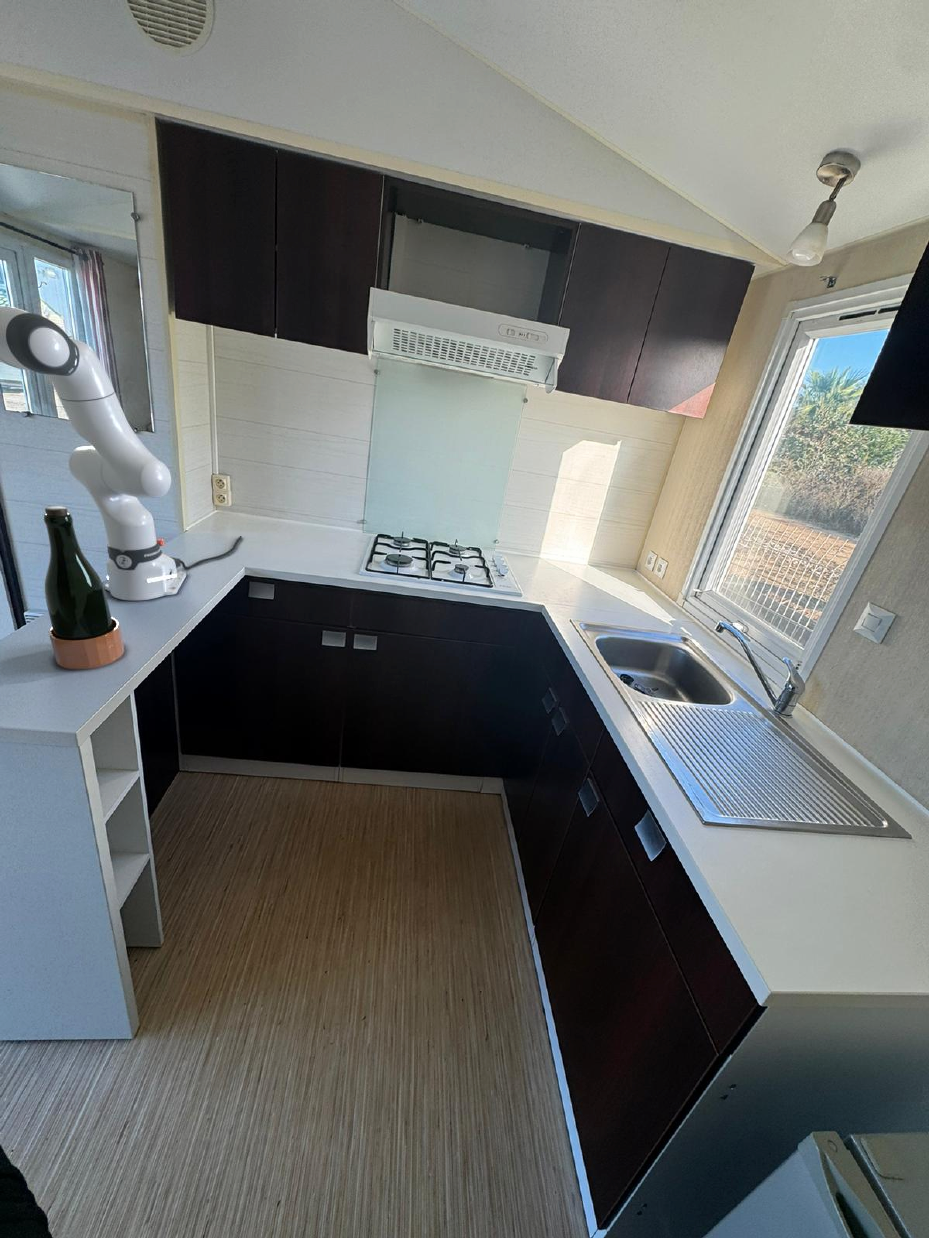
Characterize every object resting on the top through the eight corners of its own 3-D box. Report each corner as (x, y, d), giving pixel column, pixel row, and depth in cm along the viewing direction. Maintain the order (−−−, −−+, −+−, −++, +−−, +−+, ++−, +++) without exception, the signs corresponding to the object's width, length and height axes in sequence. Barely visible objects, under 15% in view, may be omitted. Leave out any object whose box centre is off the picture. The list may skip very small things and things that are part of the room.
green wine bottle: (47, 657, 105) (5, 507, 90) (93, 637, 114) (61, 497, 100) (86, 669, 103) (49, 518, 88) (129, 648, 112) (102, 507, 98)
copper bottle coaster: (78, 639, 113) (72, 613, 110) (134, 643, 115) (129, 617, 112) (42, 667, 103) (34, 638, 100) (105, 671, 104) (98, 643, 101)
